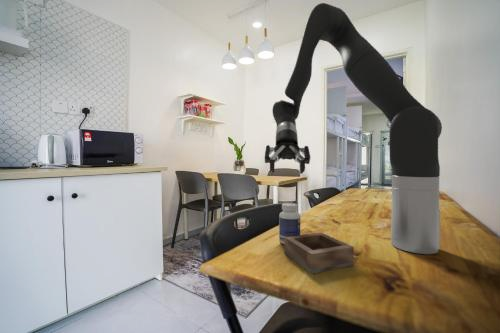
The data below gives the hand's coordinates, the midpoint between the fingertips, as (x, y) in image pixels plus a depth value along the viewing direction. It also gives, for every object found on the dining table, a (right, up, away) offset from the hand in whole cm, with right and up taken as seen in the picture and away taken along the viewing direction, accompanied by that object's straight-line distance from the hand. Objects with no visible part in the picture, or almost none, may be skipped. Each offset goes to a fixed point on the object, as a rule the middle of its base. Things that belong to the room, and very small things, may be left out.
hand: (287, 171), depth 68 cm
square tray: (+3, -18, -20) cm, 27 cm away
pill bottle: (-1, -18, -10) cm, 21 cm away
